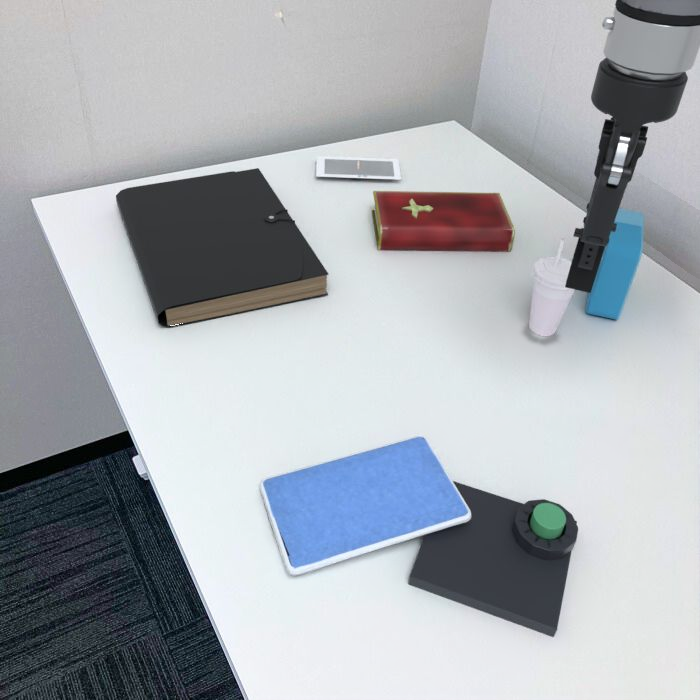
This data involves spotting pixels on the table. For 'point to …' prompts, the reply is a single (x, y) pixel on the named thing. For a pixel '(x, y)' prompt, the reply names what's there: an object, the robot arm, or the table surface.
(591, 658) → the table surface
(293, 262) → the black photo album
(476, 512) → the black button base
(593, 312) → the data package
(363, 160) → the white picture frame
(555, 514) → the button
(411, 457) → the tablet
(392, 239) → the hardcover book
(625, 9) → the robot arm
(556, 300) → the smoothie
